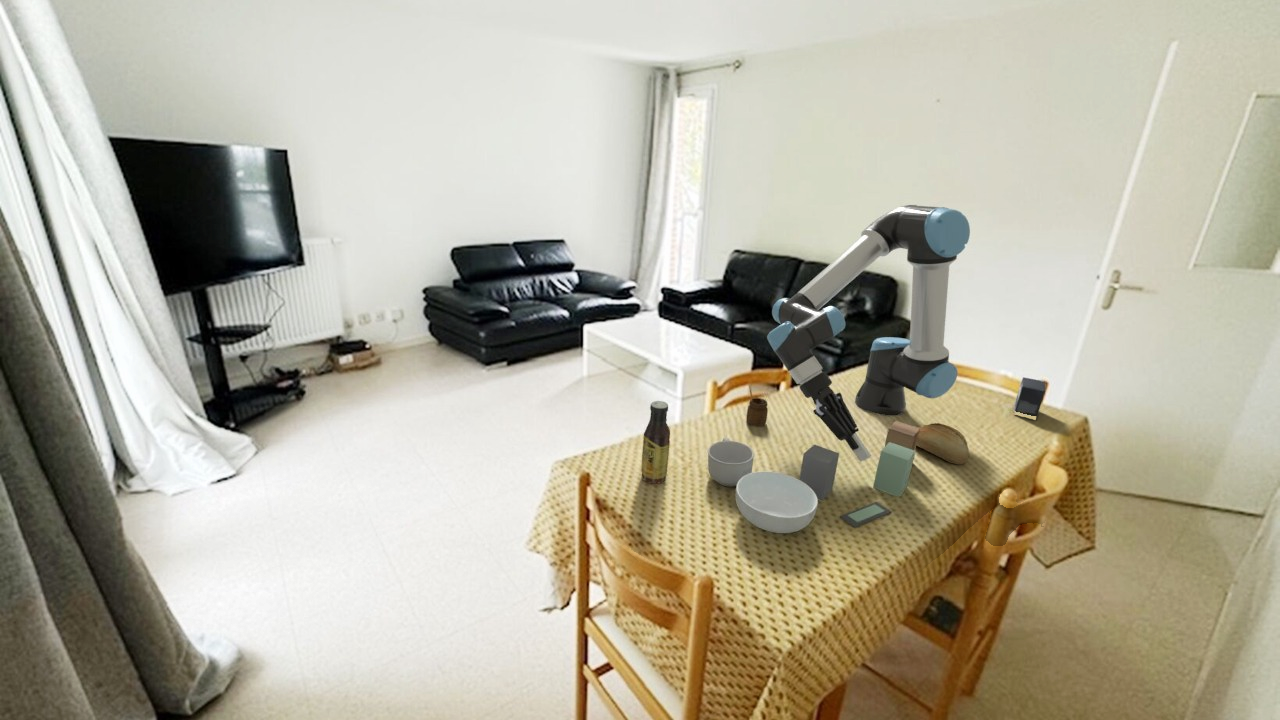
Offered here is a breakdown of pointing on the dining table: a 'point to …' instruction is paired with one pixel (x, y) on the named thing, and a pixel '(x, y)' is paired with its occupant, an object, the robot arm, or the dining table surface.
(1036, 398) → the small box
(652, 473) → the sauce bottle
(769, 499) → the cereal bowl
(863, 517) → the card
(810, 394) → the robot arm
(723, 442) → the teacup
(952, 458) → the bread roll
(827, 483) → the charcoal block
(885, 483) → the sage block
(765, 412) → the utensil holder
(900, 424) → the walnut block
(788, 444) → the dining table surface
